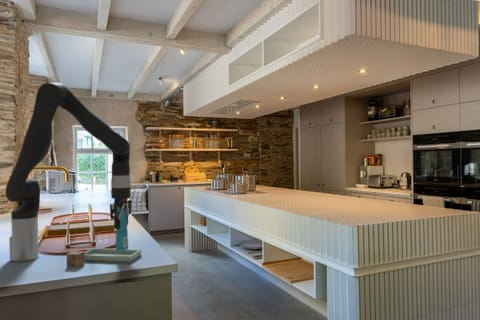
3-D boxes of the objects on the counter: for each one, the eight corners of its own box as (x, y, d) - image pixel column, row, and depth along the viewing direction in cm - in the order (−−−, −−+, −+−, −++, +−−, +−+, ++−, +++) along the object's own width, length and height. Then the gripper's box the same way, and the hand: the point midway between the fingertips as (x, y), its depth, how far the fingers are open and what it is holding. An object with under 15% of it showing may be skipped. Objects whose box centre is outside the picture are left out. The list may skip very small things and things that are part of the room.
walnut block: (66, 267, 130) (66, 254, 130) (74, 263, 135) (73, 250, 135) (77, 267, 130) (77, 254, 130) (84, 263, 134) (84, 251, 134)
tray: (78, 261, 138) (78, 254, 138) (92, 253, 147) (92, 248, 147) (130, 263, 134) (130, 257, 134) (141, 255, 144) (141, 249, 144)
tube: (118, 246, 143) (117, 201, 143) (130, 246, 144) (129, 201, 144) (113, 251, 136) (112, 204, 136) (125, 251, 136) (125, 203, 136)
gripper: (120, 188, 132) (121, 231, 132) (137, 184, 146) (137, 223, 146) (102, 188, 133) (103, 230, 133) (121, 184, 147) (121, 223, 147)
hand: (121, 226), depth 140 cm, fingers closed on tube, 6 cm apart
